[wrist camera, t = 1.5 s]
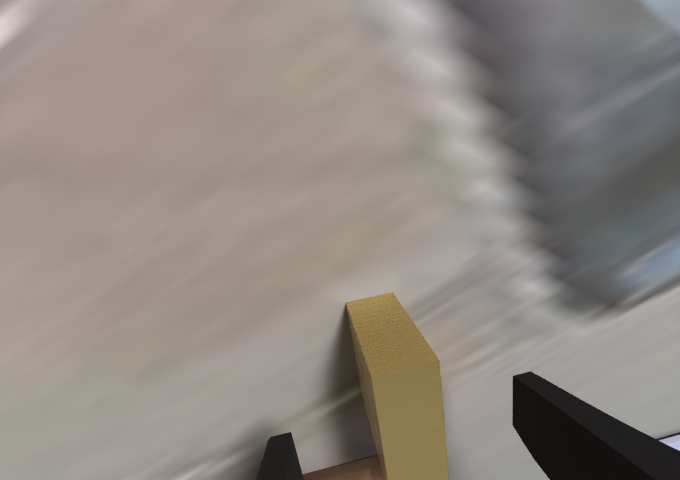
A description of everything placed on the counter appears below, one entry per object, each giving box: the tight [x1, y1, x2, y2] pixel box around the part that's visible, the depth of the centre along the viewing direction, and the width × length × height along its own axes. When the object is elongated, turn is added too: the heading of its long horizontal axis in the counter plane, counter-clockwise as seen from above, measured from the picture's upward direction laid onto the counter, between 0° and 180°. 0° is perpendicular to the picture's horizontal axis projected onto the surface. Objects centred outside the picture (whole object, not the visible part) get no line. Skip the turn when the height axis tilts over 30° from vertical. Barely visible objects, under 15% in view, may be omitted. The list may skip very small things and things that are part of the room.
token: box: [346, 293, 449, 480], centre depth 12 cm, size 2×5×4 cm, turn 9°
